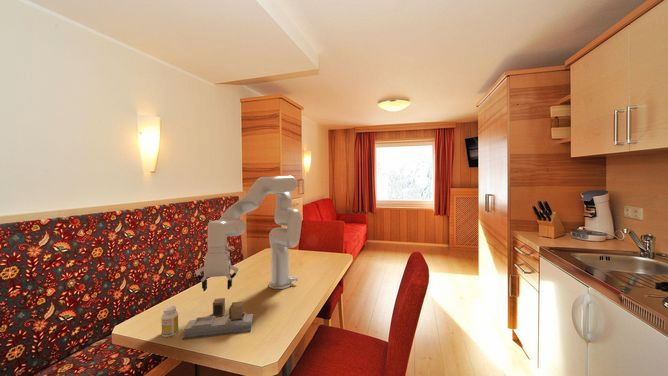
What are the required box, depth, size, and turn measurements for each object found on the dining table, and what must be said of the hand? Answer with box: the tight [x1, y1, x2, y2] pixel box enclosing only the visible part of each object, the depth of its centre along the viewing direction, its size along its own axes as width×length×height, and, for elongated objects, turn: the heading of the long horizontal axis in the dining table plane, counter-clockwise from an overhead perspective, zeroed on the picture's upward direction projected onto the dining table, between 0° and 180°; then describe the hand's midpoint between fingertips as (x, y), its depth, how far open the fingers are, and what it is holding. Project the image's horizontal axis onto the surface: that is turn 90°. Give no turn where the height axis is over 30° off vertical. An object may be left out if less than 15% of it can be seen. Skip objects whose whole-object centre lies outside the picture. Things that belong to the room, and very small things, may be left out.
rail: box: [181, 301, 255, 341], centre depth 101 cm, size 24×10×9 cm, turn 102°
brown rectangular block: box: [212, 297, 226, 318], centre depth 112 cm, size 5×4×6 cm
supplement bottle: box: [161, 305, 179, 338], centre depth 98 cm, size 5×5×10 cm
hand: (217, 289), depth 111 cm, fingers open, 9 cm apart
